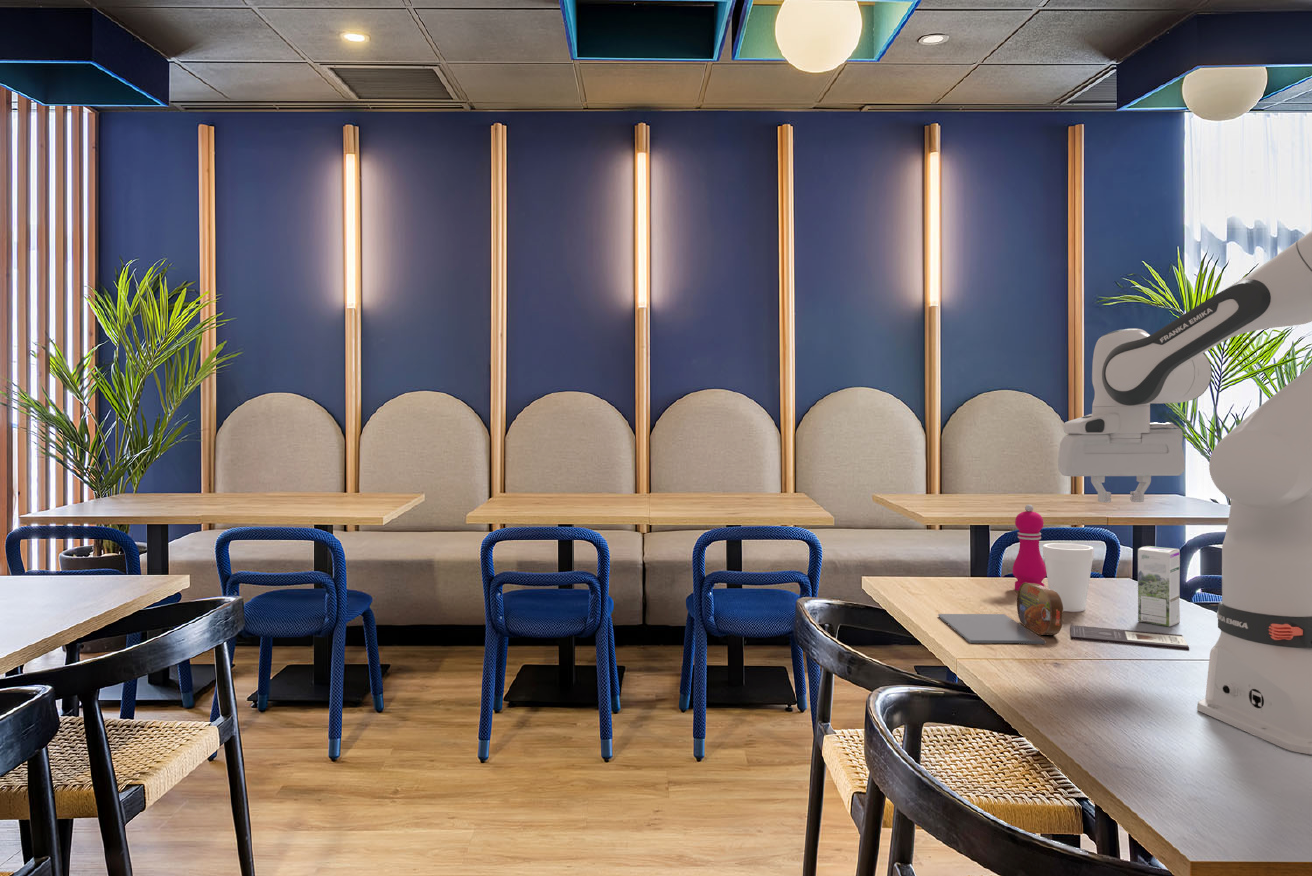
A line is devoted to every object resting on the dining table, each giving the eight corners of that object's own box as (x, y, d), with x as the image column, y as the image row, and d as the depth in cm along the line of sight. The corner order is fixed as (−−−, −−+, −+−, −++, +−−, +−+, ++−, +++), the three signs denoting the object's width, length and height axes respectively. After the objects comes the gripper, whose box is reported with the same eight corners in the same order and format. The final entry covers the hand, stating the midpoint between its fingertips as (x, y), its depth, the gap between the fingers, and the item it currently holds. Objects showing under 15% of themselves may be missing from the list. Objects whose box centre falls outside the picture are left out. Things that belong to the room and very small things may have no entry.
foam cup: (1098, 614, 167) (1098, 550, 166) (1048, 612, 169) (1048, 549, 169) (1086, 604, 176) (1086, 543, 175) (1039, 602, 178) (1039, 542, 178)
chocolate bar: (1070, 625, 156) (1181, 634, 149) (1070, 630, 156) (1181, 640, 149) (1071, 636, 148) (1189, 647, 140) (1071, 641, 148) (1189, 653, 140)
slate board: (1045, 644, 145) (1045, 640, 145) (970, 643, 146) (970, 640, 146) (1004, 617, 165) (1004, 614, 165) (938, 616, 166) (938, 614, 166)
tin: (1015, 620, 163) (1015, 578, 163) (1031, 620, 163) (1031, 578, 162) (1048, 640, 148) (1048, 594, 148) (1066, 640, 148) (1066, 594, 147)
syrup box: (1180, 622, 159) (1180, 548, 159) (1169, 627, 156) (1169, 551, 155) (1148, 617, 164) (1148, 544, 163) (1136, 622, 160) (1136, 548, 160)
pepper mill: (1006, 588, 193) (1005, 503, 193) (1033, 586, 195) (1033, 502, 194) (1025, 594, 186) (1024, 506, 186) (1053, 592, 187) (1053, 505, 187)
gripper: (1171, 422, 146) (1171, 499, 147) (1054, 423, 148) (1054, 500, 148) (1192, 422, 140) (1192, 503, 140) (1069, 423, 141) (1069, 504, 142)
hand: (1120, 502), depth 144 cm, fingers open, 4 cm apart
